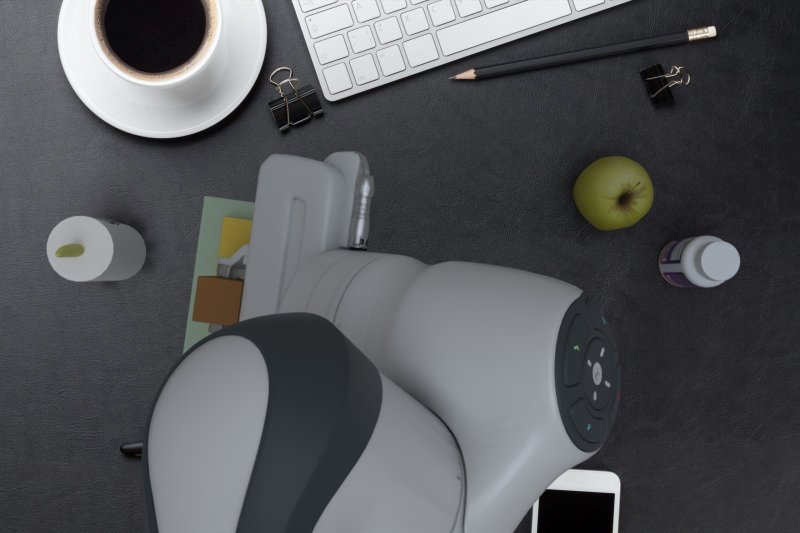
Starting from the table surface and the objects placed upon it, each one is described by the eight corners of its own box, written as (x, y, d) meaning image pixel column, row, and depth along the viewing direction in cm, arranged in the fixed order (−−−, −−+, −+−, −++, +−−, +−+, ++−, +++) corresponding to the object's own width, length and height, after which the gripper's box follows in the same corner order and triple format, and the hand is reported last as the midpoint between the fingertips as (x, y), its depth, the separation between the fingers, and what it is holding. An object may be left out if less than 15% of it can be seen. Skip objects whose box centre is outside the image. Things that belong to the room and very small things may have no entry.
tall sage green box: (306, 363, 83) (280, 399, 59) (233, 354, 83) (178, 386, 59) (324, 228, 84) (306, 209, 60) (252, 218, 83) (204, 195, 59)
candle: (155, 233, 83) (107, 224, 68) (133, 289, 83) (80, 292, 68) (101, 212, 83) (41, 198, 68) (79, 268, 83) (14, 267, 68)
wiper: (257, 376, 59) (235, 396, 50) (206, 370, 59) (174, 388, 50) (278, 224, 60) (260, 215, 50) (227, 217, 59) (199, 206, 50)
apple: (571, 146, 84) (625, 141, 74) (628, 173, 86) (686, 171, 77) (546, 213, 84) (597, 216, 74) (603, 238, 86) (659, 245, 77)
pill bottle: (710, 279, 85) (754, 279, 75) (665, 292, 85) (702, 294, 75) (696, 232, 85) (738, 227, 75) (651, 246, 85) (687, 242, 75)
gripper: (338, 138, 42) (202, 144, 52) (289, 502, 42) (161, 442, 52) (412, 161, 47) (275, 163, 56) (369, 489, 47) (238, 436, 56)
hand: (220, 298), depth 54 cm, fingers closed on wiper, 3 cm apart
